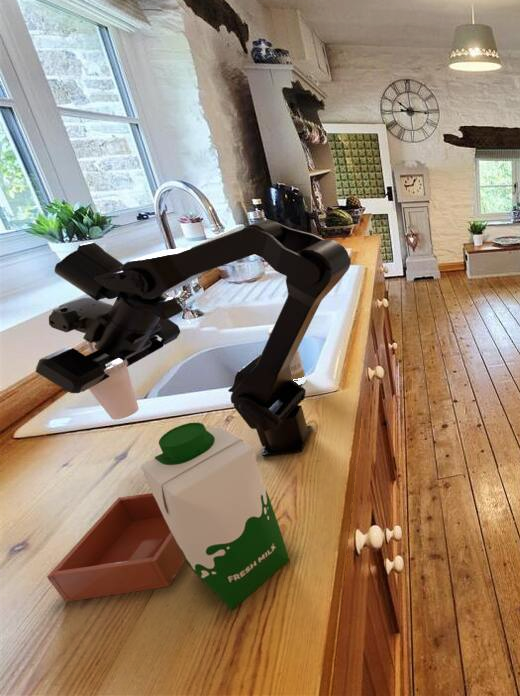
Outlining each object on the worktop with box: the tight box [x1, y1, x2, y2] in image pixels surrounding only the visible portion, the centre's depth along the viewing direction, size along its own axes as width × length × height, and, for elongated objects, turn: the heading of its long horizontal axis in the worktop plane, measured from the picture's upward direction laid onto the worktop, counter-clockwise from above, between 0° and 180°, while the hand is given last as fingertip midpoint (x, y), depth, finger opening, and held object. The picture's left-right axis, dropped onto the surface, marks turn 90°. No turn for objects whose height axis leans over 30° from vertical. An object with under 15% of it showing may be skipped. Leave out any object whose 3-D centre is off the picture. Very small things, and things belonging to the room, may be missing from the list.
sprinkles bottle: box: [267, 326, 306, 381], centre depth 87 cm, size 5×5×13 cm
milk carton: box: [140, 421, 291, 611], centre depth 46 cm, size 9×9×20 cm
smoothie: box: [86, 341, 140, 421], centre depth 69 cm, size 6×6×14 cm
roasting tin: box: [46, 492, 187, 603], centre depth 52 cm, size 11×11×4 cm
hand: (100, 378), depth 69 cm, fingers closed on smoothie, 6 cm apart
